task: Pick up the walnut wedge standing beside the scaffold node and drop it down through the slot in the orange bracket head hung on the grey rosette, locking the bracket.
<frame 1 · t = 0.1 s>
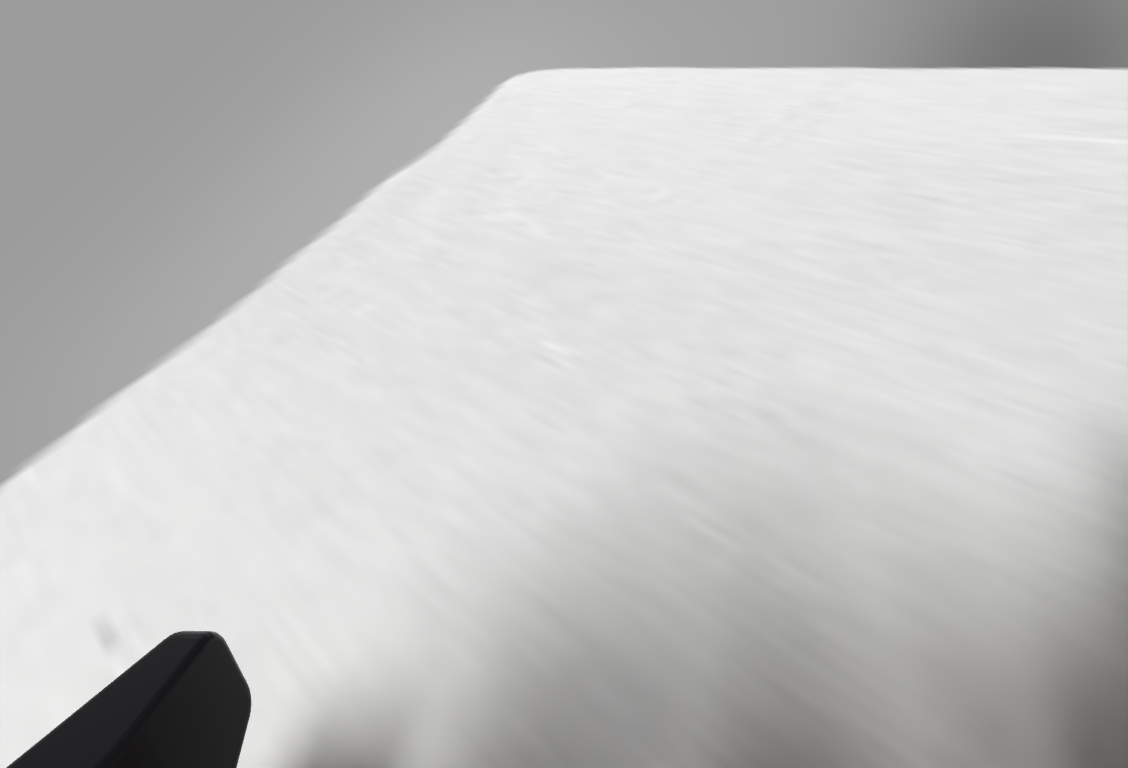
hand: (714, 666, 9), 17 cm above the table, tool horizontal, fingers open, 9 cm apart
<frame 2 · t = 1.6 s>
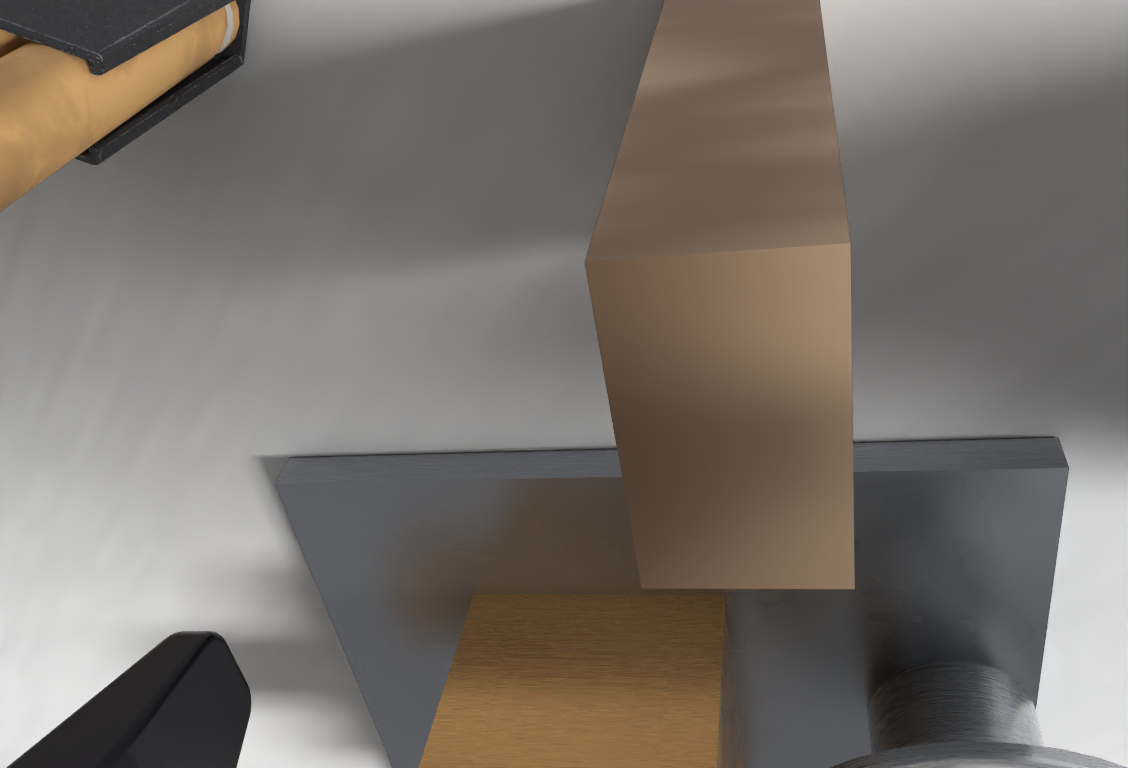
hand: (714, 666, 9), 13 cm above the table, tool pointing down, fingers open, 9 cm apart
wedge: (749, 103, 19), on the table
scaffold node: (676, 675, 29), on the table
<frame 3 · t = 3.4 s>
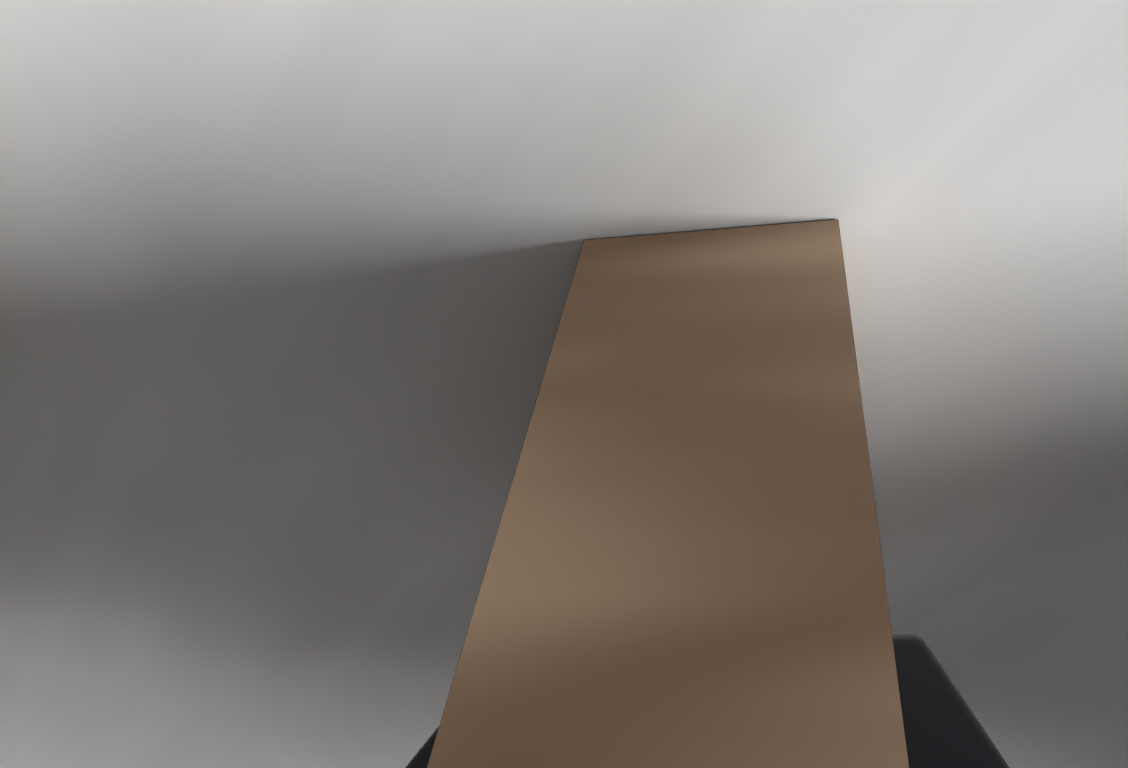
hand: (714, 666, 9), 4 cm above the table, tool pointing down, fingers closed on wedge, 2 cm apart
wedge: (726, 411, 11), on the table, touching gripper
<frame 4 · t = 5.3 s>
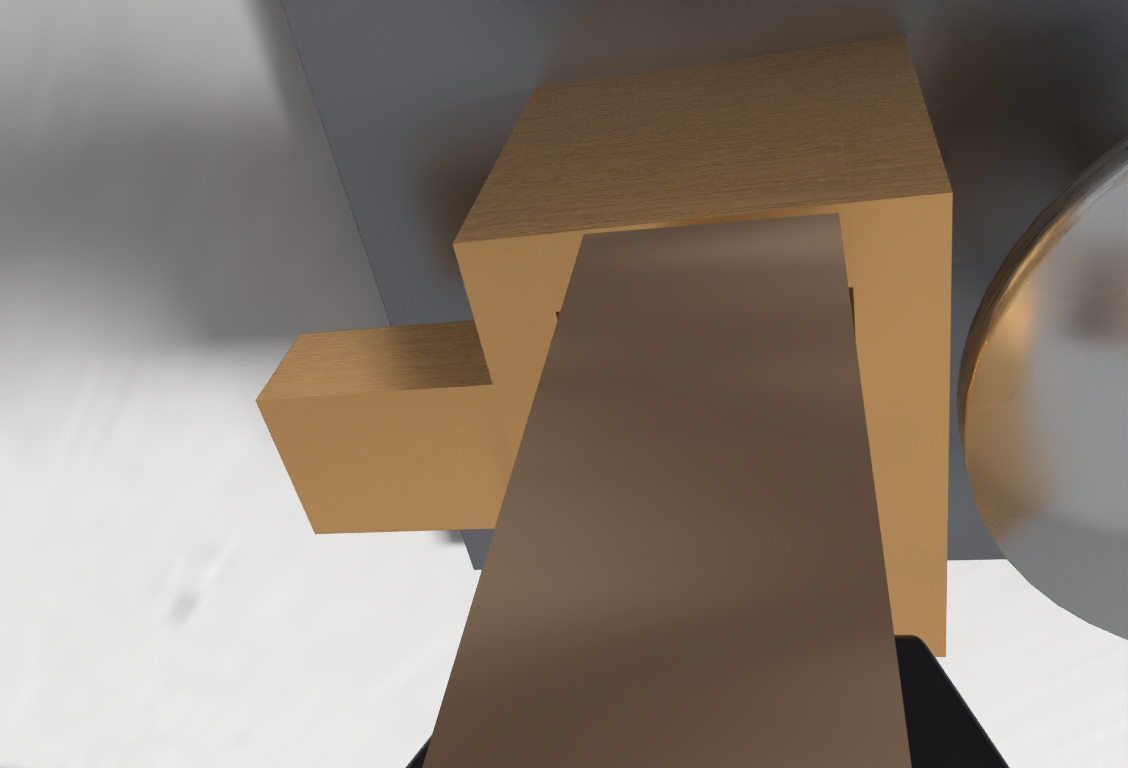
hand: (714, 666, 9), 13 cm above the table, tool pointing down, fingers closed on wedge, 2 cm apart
wedge: (726, 407, 11), point 10 cm above the table, touching gripper
scaffold node: (813, 241, 21), on the table
when the fingers open (8 cm above the table, at t = 7.6 s): wedge drops 3 cm, resting on scaffold node.
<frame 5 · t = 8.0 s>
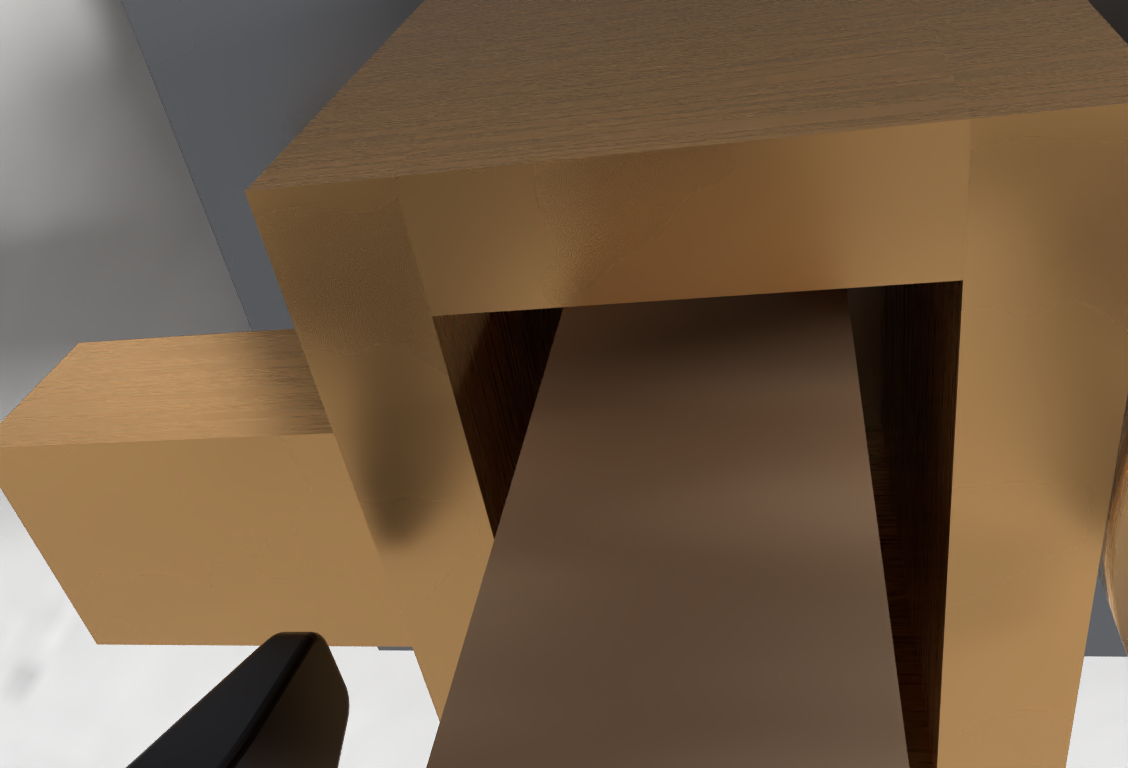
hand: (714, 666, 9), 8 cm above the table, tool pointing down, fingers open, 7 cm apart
wedge: (734, 260, 14), point 1 cm above the table, touching scaffold node
scaffold node: (839, 222, 15), on the table
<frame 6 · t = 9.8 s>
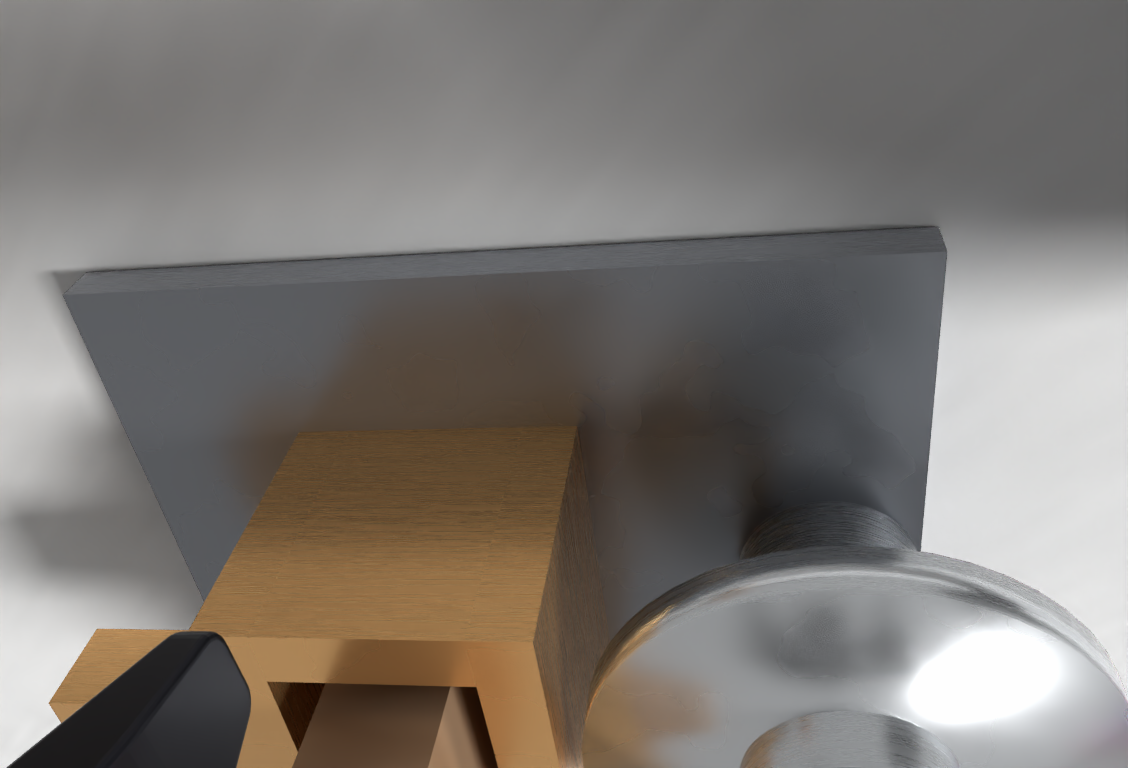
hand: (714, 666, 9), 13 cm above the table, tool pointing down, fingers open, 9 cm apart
wedge: (470, 564, 25), point 1 cm above the table, touching scaffold node
scaffold node: (535, 537, 26), on the table
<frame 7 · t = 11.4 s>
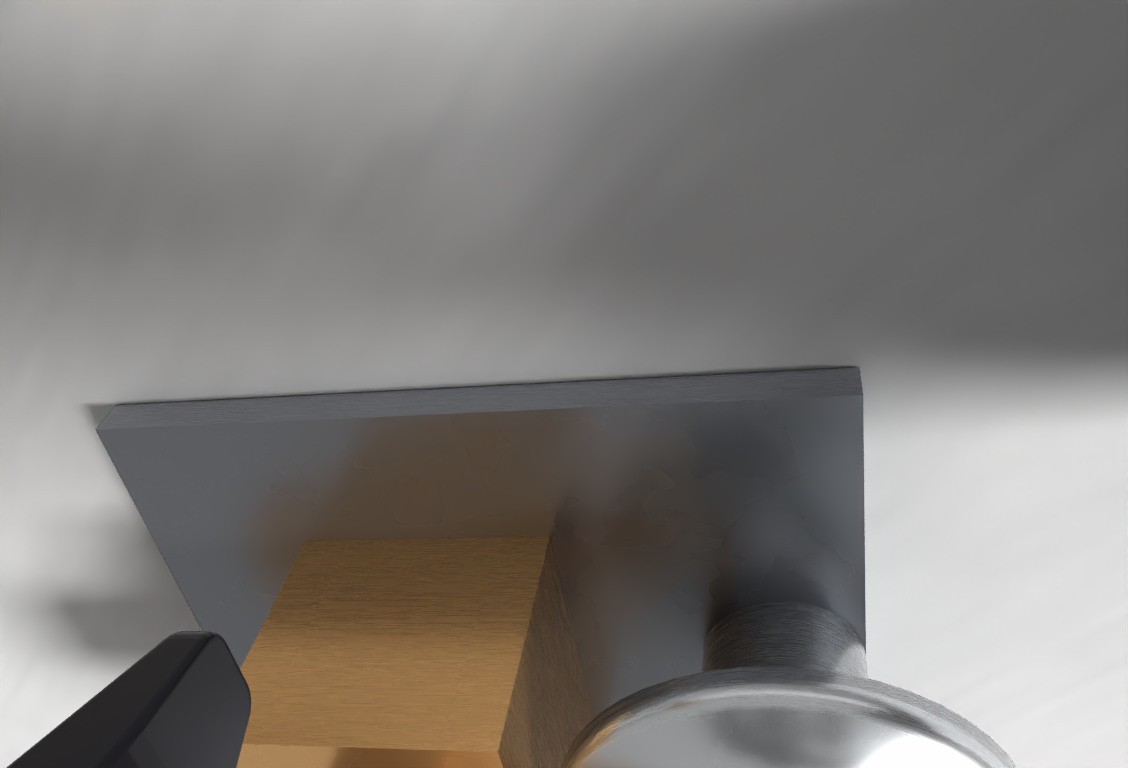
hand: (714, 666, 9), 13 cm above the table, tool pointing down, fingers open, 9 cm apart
scaffold node: (522, 624, 28), on the table
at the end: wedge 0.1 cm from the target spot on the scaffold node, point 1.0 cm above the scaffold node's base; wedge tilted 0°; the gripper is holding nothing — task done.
